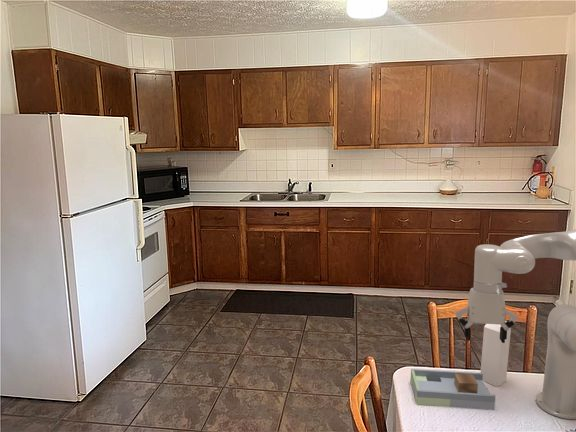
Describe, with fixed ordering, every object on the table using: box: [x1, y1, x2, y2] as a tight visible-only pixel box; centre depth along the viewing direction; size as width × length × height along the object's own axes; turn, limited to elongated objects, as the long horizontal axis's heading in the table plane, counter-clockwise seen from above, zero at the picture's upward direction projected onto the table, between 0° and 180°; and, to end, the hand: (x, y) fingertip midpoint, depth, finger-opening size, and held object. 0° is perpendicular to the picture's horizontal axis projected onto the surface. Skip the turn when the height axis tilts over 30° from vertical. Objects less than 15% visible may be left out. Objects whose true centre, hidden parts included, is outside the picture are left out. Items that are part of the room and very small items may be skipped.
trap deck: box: [410, 368, 496, 411], centre depth 138 cm, size 22×13×4 cm, turn 83°
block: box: [454, 373, 478, 394], centre depth 137 cm, size 6×6×4 cm
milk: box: [479, 320, 512, 388], centre depth 144 cm, size 6×6×22 cm
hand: (484, 340), depth 133 cm, fingers open, 9 cm apart
